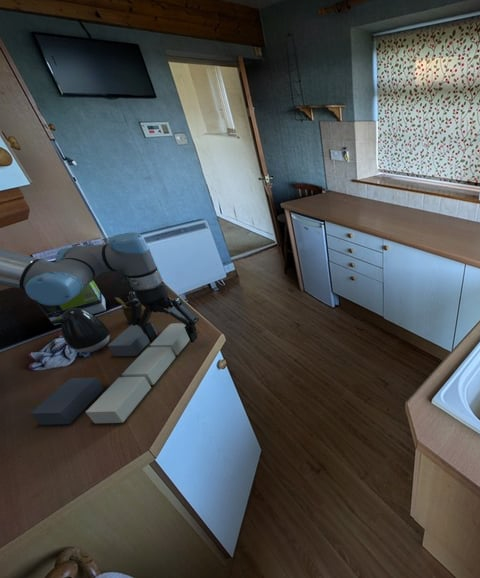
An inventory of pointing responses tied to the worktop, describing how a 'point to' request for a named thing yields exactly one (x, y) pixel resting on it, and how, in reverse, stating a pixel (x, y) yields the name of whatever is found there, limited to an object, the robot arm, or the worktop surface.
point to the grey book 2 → (129, 342)
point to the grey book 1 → (67, 401)
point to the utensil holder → (128, 309)
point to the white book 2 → (151, 364)
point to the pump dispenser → (83, 330)
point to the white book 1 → (119, 400)
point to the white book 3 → (172, 338)
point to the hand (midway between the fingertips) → (174, 340)
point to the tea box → (77, 303)
